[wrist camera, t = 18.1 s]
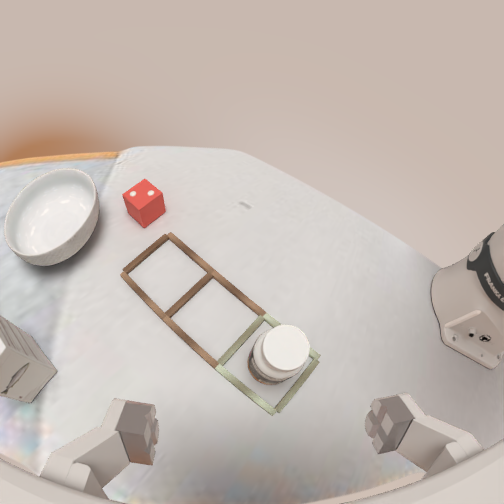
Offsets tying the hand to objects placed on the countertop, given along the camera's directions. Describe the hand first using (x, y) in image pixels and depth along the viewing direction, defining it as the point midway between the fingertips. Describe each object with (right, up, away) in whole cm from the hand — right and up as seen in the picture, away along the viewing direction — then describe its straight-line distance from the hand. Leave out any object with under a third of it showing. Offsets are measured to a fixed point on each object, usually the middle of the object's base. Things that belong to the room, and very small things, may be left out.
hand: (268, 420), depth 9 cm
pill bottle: (+2, -8, +27) cm, 28 cm away
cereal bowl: (-32, +9, +33) cm, 47 cm away
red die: (-18, +12, +36) cm, 42 cm away
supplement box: (-31, -10, +21) cm, 39 cm away
